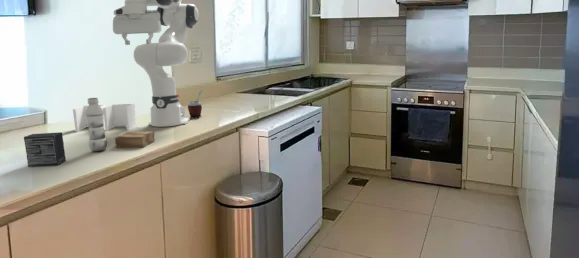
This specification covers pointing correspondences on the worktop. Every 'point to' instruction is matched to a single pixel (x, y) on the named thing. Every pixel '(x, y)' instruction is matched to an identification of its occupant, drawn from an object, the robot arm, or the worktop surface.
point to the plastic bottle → (96, 125)
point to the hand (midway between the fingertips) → (138, 44)
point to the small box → (44, 149)
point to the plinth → (134, 139)
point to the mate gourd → (195, 108)
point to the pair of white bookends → (108, 116)
